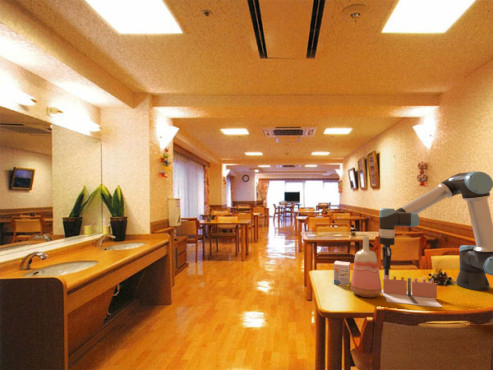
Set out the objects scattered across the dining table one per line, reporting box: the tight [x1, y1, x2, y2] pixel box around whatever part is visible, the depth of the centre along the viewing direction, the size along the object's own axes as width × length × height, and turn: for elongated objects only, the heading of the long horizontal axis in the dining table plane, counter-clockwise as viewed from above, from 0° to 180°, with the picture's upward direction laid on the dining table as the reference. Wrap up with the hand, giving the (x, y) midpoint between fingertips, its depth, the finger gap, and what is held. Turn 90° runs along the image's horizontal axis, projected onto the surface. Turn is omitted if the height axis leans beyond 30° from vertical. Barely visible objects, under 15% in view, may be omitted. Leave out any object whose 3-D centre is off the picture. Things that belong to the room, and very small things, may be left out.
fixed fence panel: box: [407, 277, 438, 299], centre depth 145 cm, size 13×1×9 cm, turn 74°
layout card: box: [381, 288, 443, 308], centre depth 143 cm, size 23×18×1 cm
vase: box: [350, 235, 383, 299], centre depth 148 cm, size 14×14×30 cm
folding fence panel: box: [382, 275, 408, 295], centre depth 148 cm, size 11×1×9 cm, turn 74°
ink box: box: [333, 260, 351, 286], centre depth 167 cm, size 9×8×12 cm
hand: (386, 281), depth 155 cm, fingers closed
